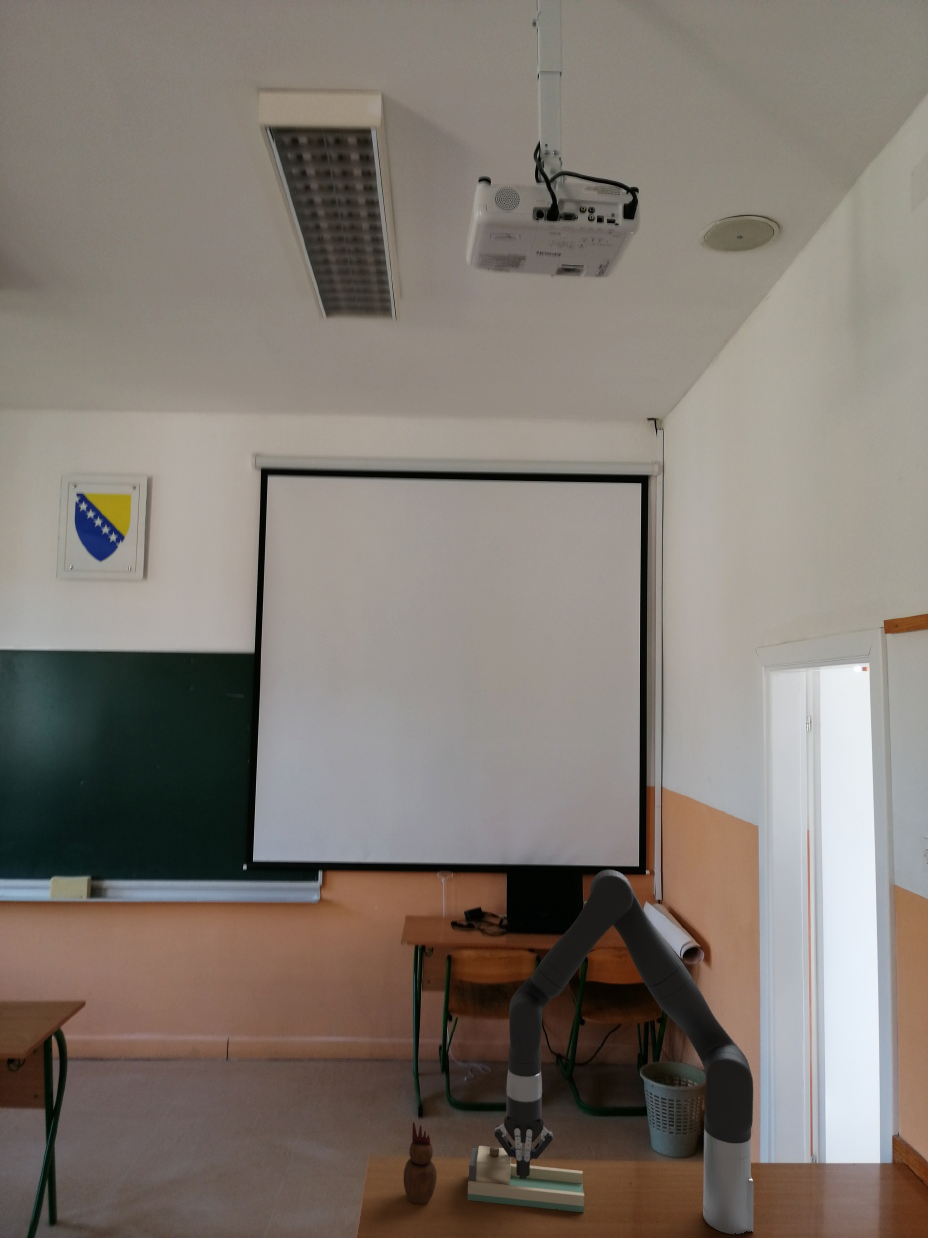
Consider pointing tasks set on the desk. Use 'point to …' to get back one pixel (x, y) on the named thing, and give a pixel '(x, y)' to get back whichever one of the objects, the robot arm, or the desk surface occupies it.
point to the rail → (531, 1188)
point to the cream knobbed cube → (493, 1165)
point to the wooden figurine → (420, 1169)
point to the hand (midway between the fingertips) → (522, 1177)
